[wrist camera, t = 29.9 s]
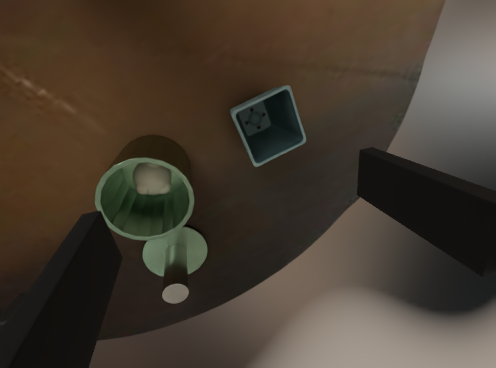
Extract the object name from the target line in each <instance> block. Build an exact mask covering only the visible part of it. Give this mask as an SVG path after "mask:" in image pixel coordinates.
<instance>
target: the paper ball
mask: <svg viewBox="0 0 496 368" xmlns="http://www.w3.org/2000/svg"><path fill="white" fill-rule="evenodd" d="M171 177H172V176H171V171H170V169H168V168H166V167H163V166H161V165H158V164H152V163H146V162H145V163H139V164H138V165H137V166H136V167H135V169H134V171H133V182H134V184H135V186H136V191H137V192H138V193H140V194H143V195H144V194H149V195H155V194H159V193H160V194H165V193H167V192H169V190H170V189H171Z"/></svg>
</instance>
